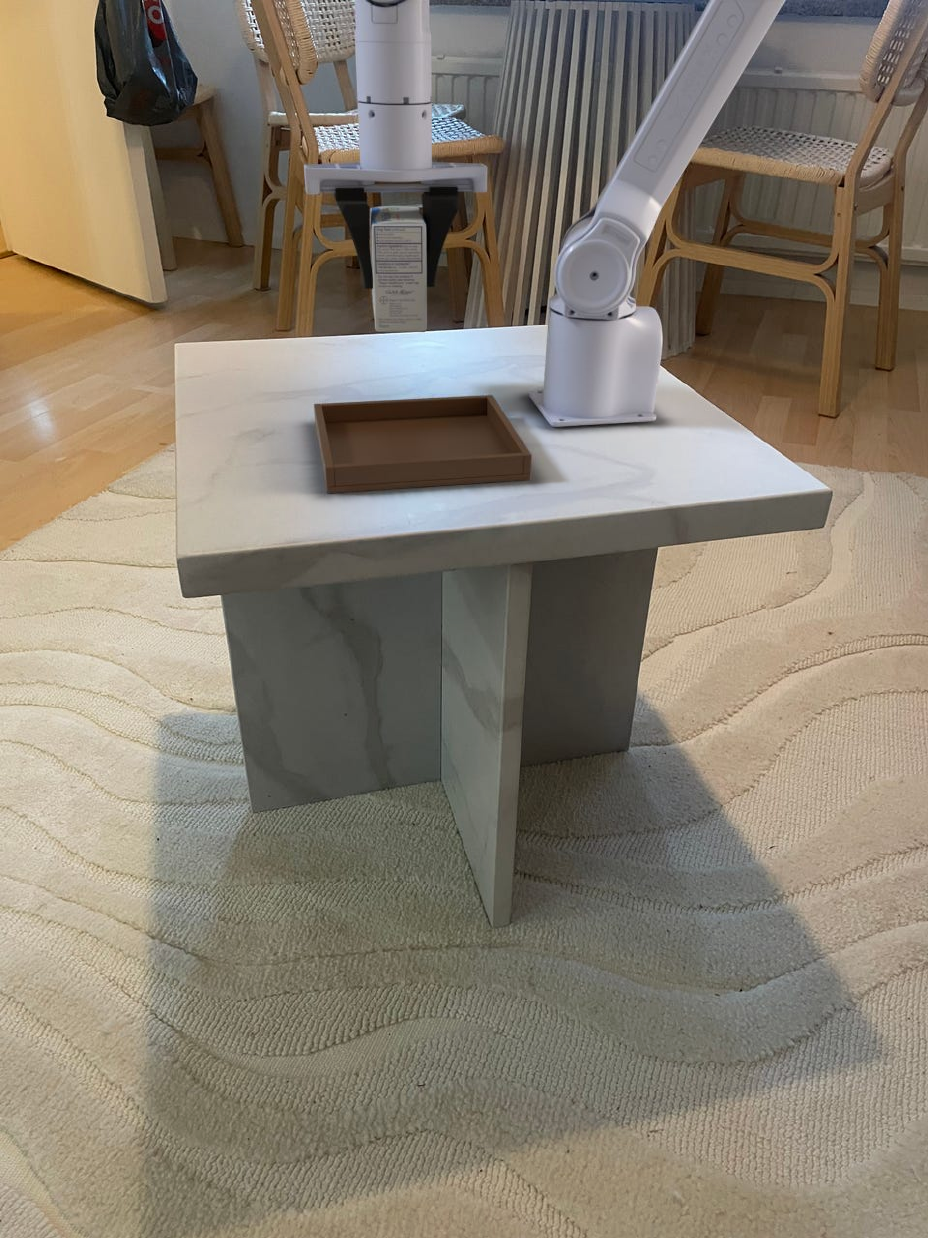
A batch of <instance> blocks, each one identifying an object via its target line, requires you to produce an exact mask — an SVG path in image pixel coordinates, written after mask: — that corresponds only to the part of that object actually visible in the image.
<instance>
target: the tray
mask: <svg viewBox="0 0 928 1238" xmlns="http://www.w3.org/2000/svg"><path fill="white" fill-rule="evenodd" d="M313 409H314V423H315V431H316V437H317V444H318V449H319V452H320V453H319V454H320V460H321V466H322V471H323V477H324V482H325V483H324V484H325V490H326V493H327V494H336V493H337V494H338V493H339V494H340V493H351V492H352V493H353V492H354V493H355V492H367V491H369V492H370V491H380V490H381V491H382V490H396V489H412V488H427V487H439V486H440V487H441V486H455V485H456V486H458V485H470V484H472V485H473V484H486V483H487V484H488V483H500V482H501V483H502V482H517V481H529V480H531V473H532V457H533V455H532V454H531V452H530V450H529V449H528V447H527V446H526V443H524V441H523V440H522V438H521V436H520V435H519V433H518V432H517V431H516V429H515V427H514V425H513V424H512V423H511V421H510V420H509V419H508V417H507V415H506V414H505V412H504V411H503V409H502V407H501V406H500V404H499V403H498V402H497V400H496V398H495V397H494V395H493V394H483V395H482V394H481V395H467V396H466V395H465V396H446V397H445V396H442V397H441V396H440V397H423V398H421V397H420V398H404V399H385V400H384V399H383V400H382V399H381V400H366V401H365V400H364V401H363V400H362V401H345V402H325V403H314V404H313Z"/></svg>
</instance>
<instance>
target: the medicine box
mask: <svg viewBox="0 0 928 1238" xmlns="http://www.w3.org/2000/svg"><path fill="white" fill-rule="evenodd" d="M369 223H370V255H371V264H372V273H373V289H371V295H372V297H371V298H372V309H373V310H372V311H373V318H374V329H375V331H376V332H378V333H425V332H426V331H427V329H428V287H427V257H426V224H425V221H424V219H423V213H422V211H421V208H420V207H419V206H413V205H412V206H411V205H383V206H382V205H381V206H374V207H373V206H372V207H370V217H369Z"/></svg>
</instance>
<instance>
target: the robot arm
mask: <svg viewBox="0 0 928 1238" xmlns="http://www.w3.org/2000/svg"><path fill="white" fill-rule="evenodd" d="M785 2H786V0H708V2H707V4H706V6H705V8H704V10H703V11H702V13H701V15H700V16H699V18H698V20H697V22H696V23H695V26H694V27H693V29H692V31H691V32H690V35H689V36H688V38H687V40H686V42H685V44H684V45H683V48H682V49H681V51H680V53H679V55H678V57H677V58H676V60H675V62H674V63H673V65H672V67H671V69H670V71H669V73H668V74H667V76H666V78H665V80H664V82H663V83H662V85H661V87H660V89H659V91H658V92H657V94H656V96H655V98H654V100H653V101H652V103H651V105H650V107H649V109H648V110H647V113H646V114H645V116H644V118H643V120H642V121H641V123H640V125H639V126H638V129H637V130H636V132H635V134H634V136H633V137H632V140H631V141H630V143H629V145H628V146H627V148H626V150H625V152H624V153H623V155H622V157H621V160H620V161H619V163H618V165H617V166H616V168H615V170H614V172H613V174H612V175H611V177H610V178H609V180H608V181H607V182H606V184H605V186H604V188H603V189H602V191H601V192H600V194H599V195H598V198H597V200H596V201H595V203H594V204H593V206H592V207H591V208H590V209H589V211H587V212H586V213H585V214H584V215H582V216H580V217H579V218H577V220H575V221H574V222H573V223H572V224H571V225H570V227H568V229H567V231H566V232H565V234H564V235H563V239H562V241H561V246H560V252H559V254H558V256H557V258H556V261H555V264H554V269H553V281H554V287H555V290H556V293H555V294H554V295H552V296H551V297H549V300H548V316H547V317H548V318H547V319H548V320H547V330H546V331H547V333H546V348H545V360H544V375H543V376H544V377H543V389H542V390H541V389H540V390H539V389H538V390H531V391H529V393H528V397H529V398H530V400H531V401H532V402H533V404H534V405H535V407H536V408H537V409H538V411H539V412H540V413H541V414H542V416H543V417H544V418H545V420H546V422H548V424H549V425H550V426H551V427H554V428H555V427H557V428H560V427H575V426H576V427H577V426H590V425H609V424H626V423H628V424H629V423H644V422H646V423H647V422H654V421H656V420H657V414H656V413H655V404H656V397H657V390H658V381H659V376H660V368H661V360H662V354H663V341H664V340H663V326H662V321H661V318H660V315H659V313H658V312H657V310H656V309H655V308H654V307H651V306H645V305H637V301H636V299H635V298H634V297H632V296H631V293H632V290H633V288H634V286H635V282H636V274H637V264H638V260H639V257H640V255H641V252H642V251H643V249H644V247H645V245H646V243H647V242H648V240H649V238H650V236H651V234H652V232H653V229H654V228H655V224H656V222H657V221H658V218H659V215H660V213H661V211H662V209H663V207H664V205H665V204H666V202H667V200H668V198H669V197H670V195H671V193H672V192H673V190H674V189H675V187H676V185H677V184H678V182H679V181H680V178H681V177H682V175H683V174H684V171H685V170H686V168H687V167H688V165H689V163H690V162H691V160H692V158H694V157H693V156H694V155H695V153H696V152H697V150H698V148H699V147H700V146H701V143H702V142H703V140H704V138H705V136H706V135H707V133H708V131H709V130H710V129H711V126H712V125H713V123H714V121H715V119H716V118H717V116H718V115H719V113H720V111H721V110H722V107H723V106H724V105H725V103H726V101H727V100H728V98H729V97H730V95H731V93H732V91H733V89H734V88H735V86H736V85H737V83H738V81H739V80H740V78H741V76H742V74H743V73H744V71H745V70H746V68H747V66H748V65H749V63H750V62H751V60H752V57H753V56H754V54H755V53H756V51H757V49H758V48H759V46H760V45H761V43H762V41H763V40H764V37H765V36H766V34H767V32H768V31H769V29H770V27H771V26H772V24H773V23H774V20H775V19H776V17H777V15H778V14H779V12H780V11H781V9H782V7H783V5H784V4H785ZM354 16H355V18H354V19H355V20H354V21H355V29H354V50H355V72H356V73H355V76H356V78H355V79H356V97H357V99H356V100H357V120H358V121H357V122H358V145H359V161H357V162H356V161H355V162H341V163H339V162H338V163H337V162H336V163H322V164H321V163H320V164H317V163H316V164H303V173H304V175H303V176H304V189H305V193H306V195H309V196H310V195H312V196H314V195H317V196H318V195H320V194H333V198H334V200H335V202H336V204H337V206H338V209H339V211H340V213H341V215H342V218H343V219H344V222H345V224H346V226H347V228H348V232H349V234H350V237H351V240H352V243H353V246H354V250H355V253H356V256H357V260H358V264H359V268H360V274H361V281H362V282H361V283H362V285H363V286H362V287H363V288H364V289H365V290H372V289H373V273H372V264H371V241H370V209H371V207H370V205H369V203H368V196H367V195H366V193H422V194H421V206H422V209H421V210H422V216H423V219H424V221H425V224H426V257H427V288H435V285H436V284H435V283H436V277H437V271H438V270H437V269H438V266H439V261H440V257H441V254H442V252H443V248H444V245H445V241H446V239H447V236H448V234H449V231H450V229H451V227H452V224H453V223H454V220H455V218H456V216H457V215H458V212H459V209H460V206H461V197H460V196H459V192H473V193H478V194H480V193H484V194H485V193H487V192H488V166H487V165H486V164H484V163H468V162H467V163H466V162H465V163H464V162H442V161H441V162H440V161H439V162H438V161H433V113H432V112H433V109H432V108H433V102H432V101H433V100H432V98H433V97H432V96H433V95H432V93H433V92H432V87H433V86H432V84H433V83H432V75H433V74H432V73H433V72H432V32H431V29H430V0H354ZM376 182H381V183H380V184H377V183H376ZM383 182H384V183H386V184H383ZM412 182H420V183H412ZM375 183H376V184H375ZM387 183H389V184H387ZM392 183H393V184H392ZM394 183H395V184H394Z"/></svg>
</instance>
